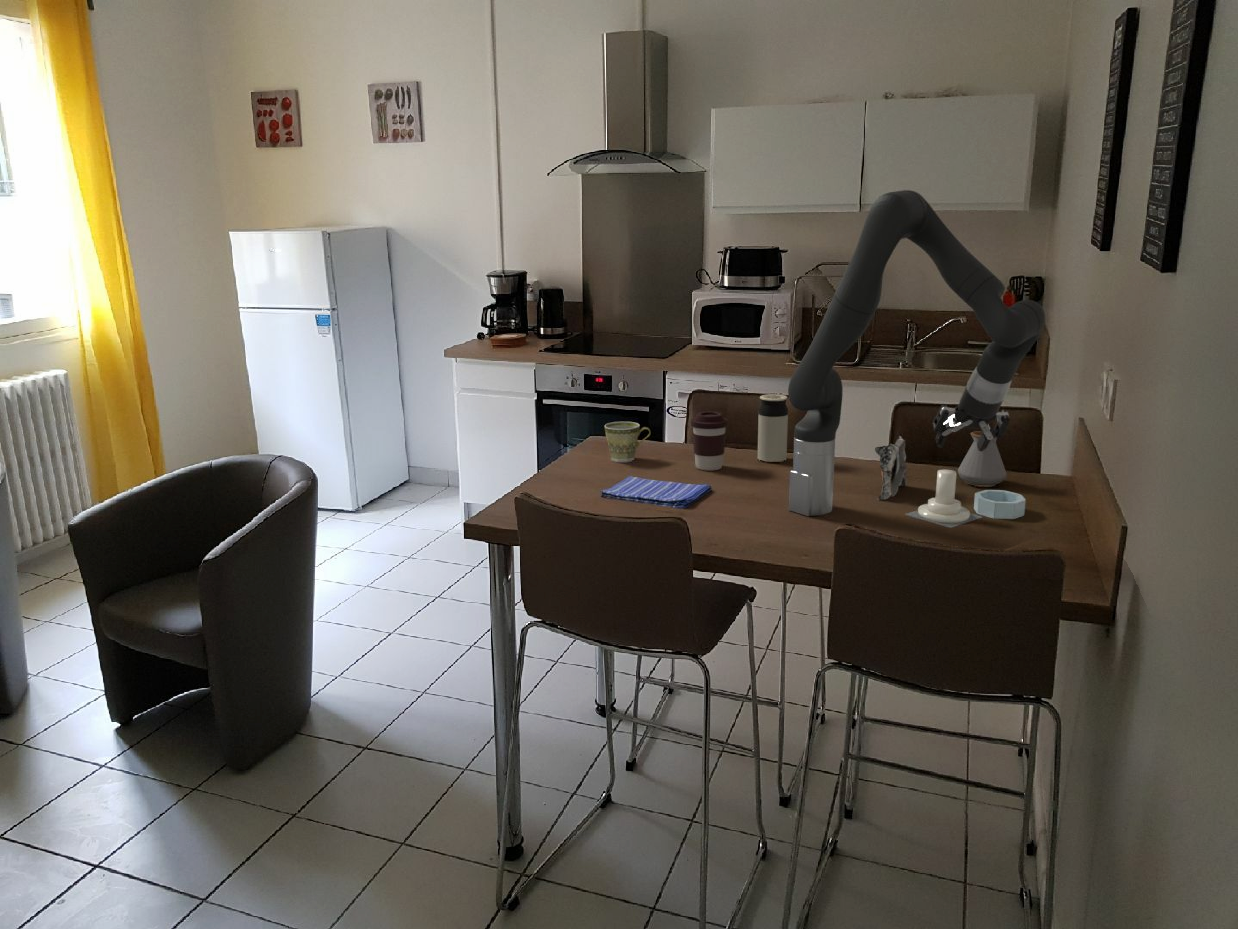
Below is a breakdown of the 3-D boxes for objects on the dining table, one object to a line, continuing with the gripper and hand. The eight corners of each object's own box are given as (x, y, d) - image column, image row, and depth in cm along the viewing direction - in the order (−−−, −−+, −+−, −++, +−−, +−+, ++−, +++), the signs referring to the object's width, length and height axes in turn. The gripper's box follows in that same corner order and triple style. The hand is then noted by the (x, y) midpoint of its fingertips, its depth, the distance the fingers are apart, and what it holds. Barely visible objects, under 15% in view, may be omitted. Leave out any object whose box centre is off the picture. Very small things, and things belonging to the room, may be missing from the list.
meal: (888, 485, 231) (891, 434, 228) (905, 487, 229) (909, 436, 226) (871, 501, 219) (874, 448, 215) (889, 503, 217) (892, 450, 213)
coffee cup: (690, 463, 255) (690, 410, 251) (725, 462, 255) (726, 409, 251) (691, 472, 245) (691, 417, 241) (728, 472, 245) (729, 417, 241)
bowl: (1005, 523, 201) (1007, 505, 200) (965, 512, 209) (967, 495, 208) (1031, 514, 207) (1033, 497, 206) (991, 503, 215) (992, 487, 214)
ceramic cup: (604, 464, 255) (603, 429, 253) (606, 455, 265) (605, 421, 262) (650, 464, 255) (650, 428, 252) (650, 455, 264) (650, 421, 262)
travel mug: (764, 464, 252) (765, 400, 247) (753, 457, 259) (754, 395, 255) (791, 462, 254) (793, 398, 249) (779, 455, 261) (781, 393, 257)
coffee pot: (958, 475, 239) (963, 419, 235) (1006, 479, 234) (1012, 422, 230) (951, 497, 220) (956, 437, 216) (1002, 503, 215) (1008, 441, 211)
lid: (949, 526, 199) (953, 481, 196) (907, 514, 207) (910, 470, 205) (979, 516, 205) (983, 472, 202) (937, 505, 213) (940, 462, 211)
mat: (950, 529, 198) (950, 527, 198) (904, 515, 208) (904, 514, 207) (982, 518, 205) (983, 516, 205) (936, 505, 214) (937, 504, 214)
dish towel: (687, 511, 215) (687, 500, 214) (598, 499, 226) (597, 488, 225) (713, 492, 230) (713, 481, 229) (629, 481, 240) (629, 471, 240)
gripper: (954, 399, 179) (928, 456, 191) (1026, 405, 179) (996, 462, 191) (947, 374, 185) (922, 431, 196) (1017, 380, 185) (989, 437, 196)
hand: (959, 446), depth 194 cm, fingers open, 8 cm apart
